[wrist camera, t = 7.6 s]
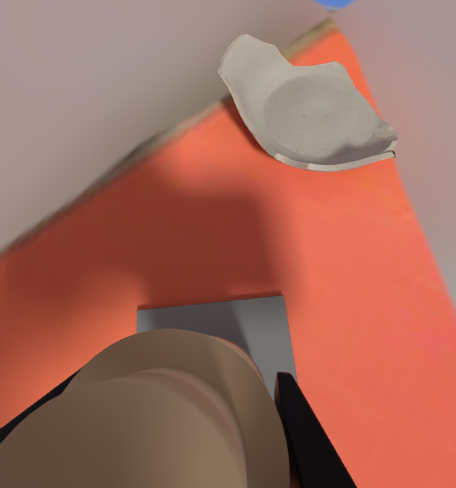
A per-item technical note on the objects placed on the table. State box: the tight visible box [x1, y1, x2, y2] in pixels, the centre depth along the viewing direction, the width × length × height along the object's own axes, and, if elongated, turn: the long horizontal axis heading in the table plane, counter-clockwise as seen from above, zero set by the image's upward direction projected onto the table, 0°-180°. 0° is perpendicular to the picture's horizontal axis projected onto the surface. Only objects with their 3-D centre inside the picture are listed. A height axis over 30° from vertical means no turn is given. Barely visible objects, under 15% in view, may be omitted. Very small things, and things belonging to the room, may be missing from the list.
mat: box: [137, 295, 298, 402], centre depth 16 cm, size 9×9×1 cm
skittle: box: [0, 329, 290, 488], centre depth 9 cm, size 5×5×12 cm
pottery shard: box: [218, 34, 398, 172], centre depth 19 cm, size 10×11×5 cm
